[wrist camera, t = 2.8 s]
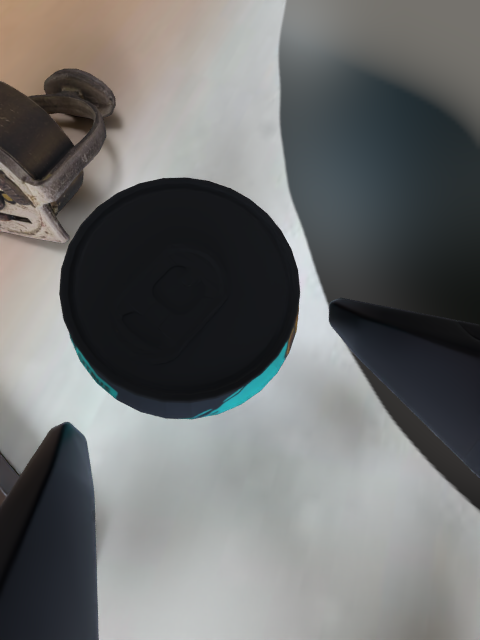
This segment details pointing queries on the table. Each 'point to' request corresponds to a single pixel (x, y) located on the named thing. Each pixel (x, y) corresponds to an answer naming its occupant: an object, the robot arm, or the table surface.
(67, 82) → the mechanical counter
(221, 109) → the table surface
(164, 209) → the beverage can
